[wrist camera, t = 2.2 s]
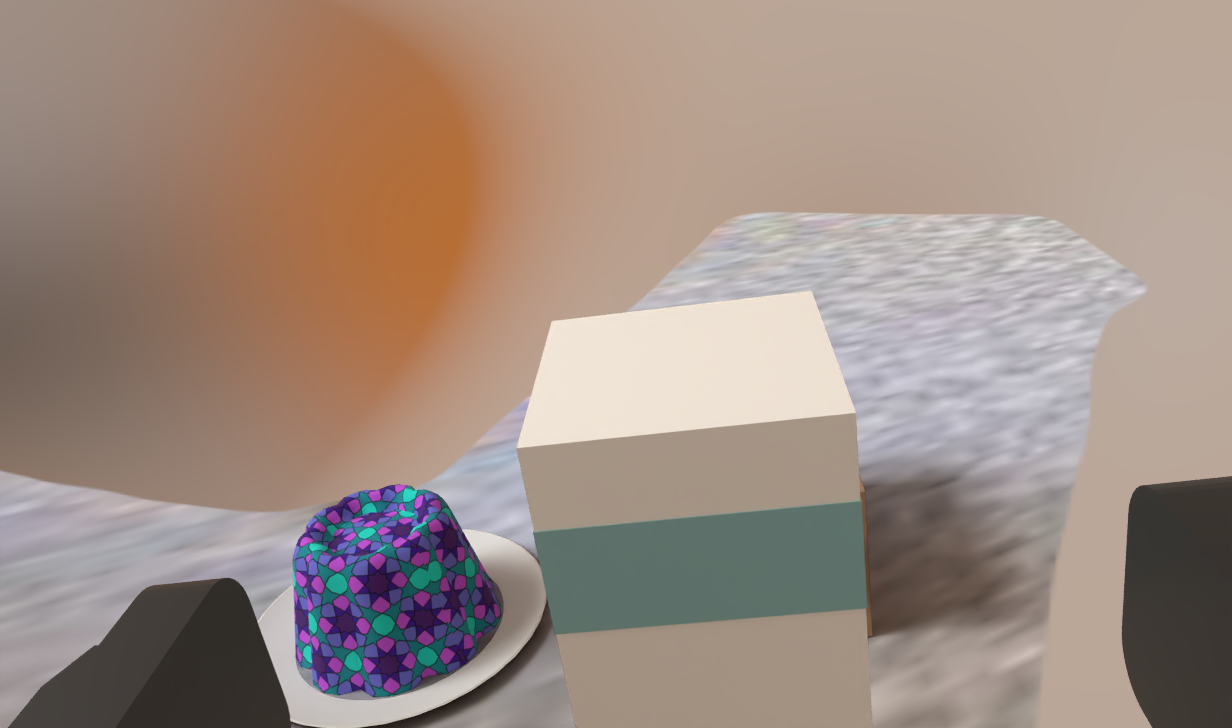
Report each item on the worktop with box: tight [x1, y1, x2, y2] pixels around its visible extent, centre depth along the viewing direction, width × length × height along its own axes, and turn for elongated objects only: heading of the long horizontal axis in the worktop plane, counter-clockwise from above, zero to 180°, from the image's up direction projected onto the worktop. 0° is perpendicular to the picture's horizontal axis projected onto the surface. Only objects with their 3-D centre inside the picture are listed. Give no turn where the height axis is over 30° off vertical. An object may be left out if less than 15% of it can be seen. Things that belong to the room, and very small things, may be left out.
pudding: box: [258, 484, 546, 728], centre depth 39 cm, size 12×12×5 cm
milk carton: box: [517, 291, 872, 728], centre depth 24 cm, size 6×6×16 cm
